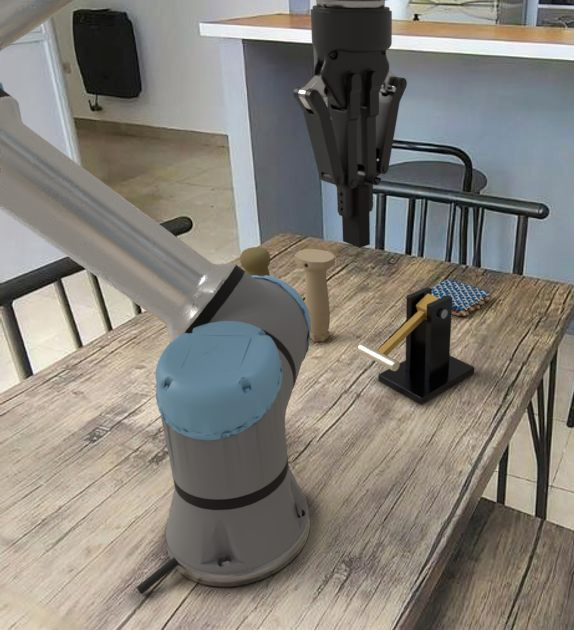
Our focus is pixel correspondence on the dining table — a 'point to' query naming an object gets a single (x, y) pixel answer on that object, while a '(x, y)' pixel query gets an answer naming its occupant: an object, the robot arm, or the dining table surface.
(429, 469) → the dining table surface
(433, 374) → the bracket
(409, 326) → the lever
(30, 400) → the dining table surface
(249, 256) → the olive pawn shaped figure
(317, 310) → the handle
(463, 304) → the woven mat
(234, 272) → the robot arm
